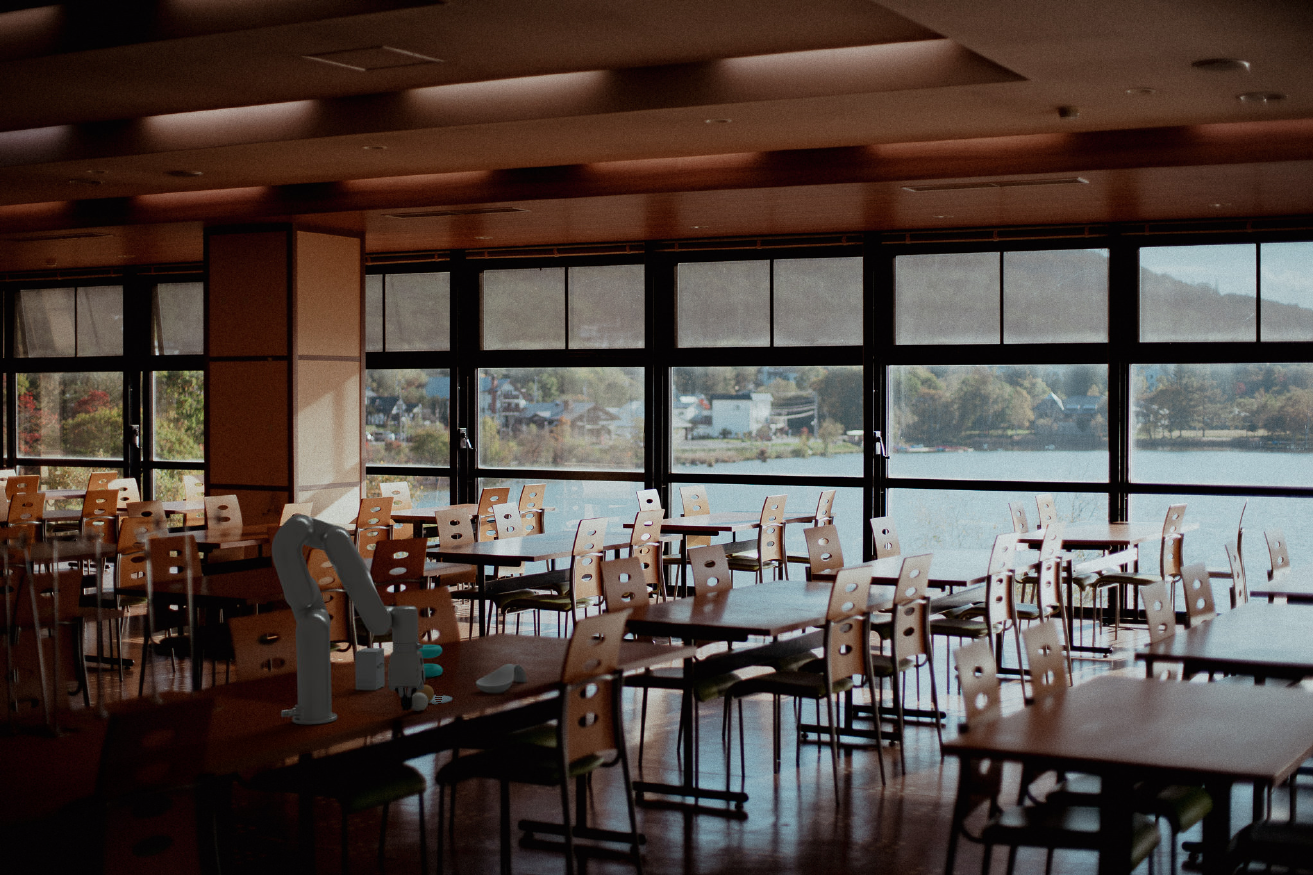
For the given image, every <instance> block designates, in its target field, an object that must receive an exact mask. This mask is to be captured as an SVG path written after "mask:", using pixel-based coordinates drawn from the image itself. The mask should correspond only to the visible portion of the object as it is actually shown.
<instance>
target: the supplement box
mask: <svg viewBox="0 0 1313 875" xmlns="http://www.w3.org/2000/svg"><path fill="white" fill-rule="evenodd" d="M354 655H355V657H354V658H355V661H354V662H355V665H354V666H355V668H354V669H355V690H356V691H357V690H358V691H361V690H362V691H377V690H378V689H380V688H382V687H385V648H383V647H382V648H380V647H379V648H378V647H377V648H375V647H369V648H368V647H366V648H361V649H359V650H357V651H355V653H354Z"/></svg>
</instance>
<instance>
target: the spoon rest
mask: <svg viewBox="0 0 1313 875" xmlns="http://www.w3.org/2000/svg"><path fill="white" fill-rule="evenodd" d="M526 674H527V673H526V672H525V670H524V668H523V666H522V665H520V664H512V663H507V664H504V665H503V666H500V667H498V668H497V669H495V671H492V672H490V673H488V674H486V675H485V676H483V677H481V678H478V679H476V682H475V685H476V686H477V687H476V688H478V689H479V690H480V691H481V692H484V693H486V694H501V693H505V692H506V691H507V690H508V689H509V688H510V687H511V686H512V684H513V681H514V682H516V683H527V681H528V678H527V675H526Z"/></svg>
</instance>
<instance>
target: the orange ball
mask: <svg viewBox="0 0 1313 875" xmlns="http://www.w3.org/2000/svg"><path fill="white" fill-rule="evenodd" d="M418 692H420V693H423V694H425V695H426V696H427V698H428V702H430V701H431V700H432V699H433V697H434V695H435V692H434V689H433V687H432V686H430V685H428V684H424V689H423V690H420V691H416V692H415V693H418Z"/></svg>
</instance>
